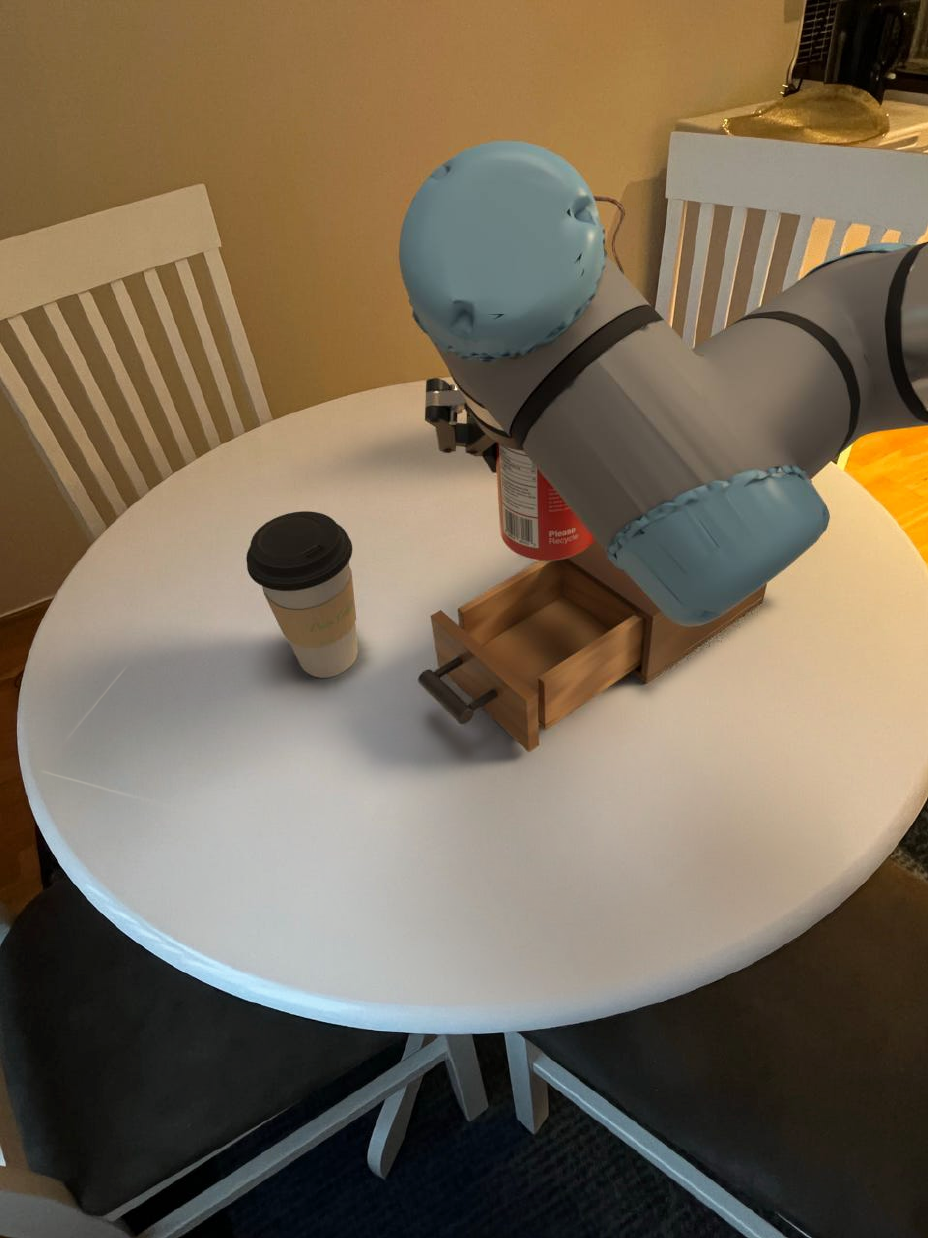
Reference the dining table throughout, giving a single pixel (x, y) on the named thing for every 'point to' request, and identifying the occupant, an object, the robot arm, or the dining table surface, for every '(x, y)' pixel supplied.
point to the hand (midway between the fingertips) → (549, 456)
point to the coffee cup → (308, 588)
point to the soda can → (535, 511)
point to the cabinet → (654, 613)
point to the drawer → (534, 649)
